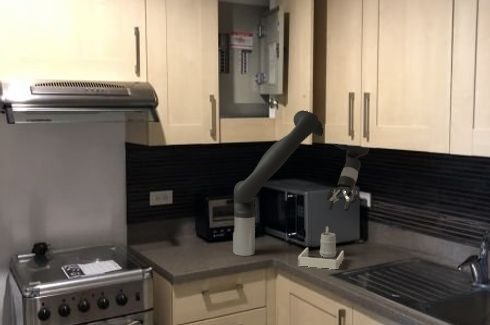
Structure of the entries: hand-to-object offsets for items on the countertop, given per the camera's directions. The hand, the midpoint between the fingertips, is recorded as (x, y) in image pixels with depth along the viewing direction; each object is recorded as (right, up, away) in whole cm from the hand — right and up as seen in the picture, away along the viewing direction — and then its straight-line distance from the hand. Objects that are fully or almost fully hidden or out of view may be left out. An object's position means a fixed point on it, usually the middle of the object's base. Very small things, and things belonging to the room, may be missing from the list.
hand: (337, 210), depth 243 cm
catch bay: (-9, -22, -11) cm, 26 cm away
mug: (-4, -21, +3) cm, 21 cm away
